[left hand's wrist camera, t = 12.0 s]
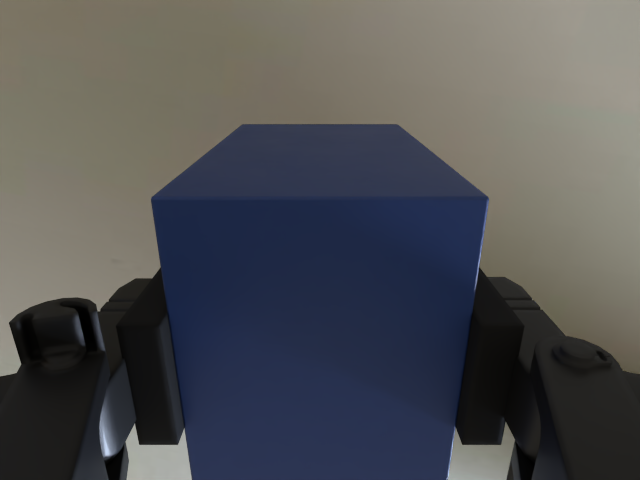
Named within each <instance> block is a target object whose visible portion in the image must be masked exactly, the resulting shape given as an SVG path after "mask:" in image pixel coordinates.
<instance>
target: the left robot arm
mask: <svg viewBox="0 0 640 480" xmlns="http://www.w3.org/2000/svg"><path fill="white" fill-rule="evenodd" d="M9 325H10V328H11V331H12V335H13V338H14V341H15V344H16V348H17V351H18V354H19V358H20V361H21V366H20V368H19V370H18V372H17V373H15V374H11V375H6V376H1V377H0V480H126V478H127V471H128V463H129V459H128V452H127V447H126V443H125V441H126V439H127V437H128V435H129V433H130V431H131V429H132V427H133V426H134V424H135V425H136V430H137V435H138V440H139V445H178V443H179V440H180V438H181V435H182V432H183V430H184V421H183V414H182V407H181V400H180V393H179V387H178V380H177V373H176V366H175V359H174V353H173V346H172V339H171V332H170V325H169V319H168V312H167V305H166V298H165V292H164V285H163V278H162V271H161V268H160V269H159V270H158V272H157V273H156V274H155V276H154V277H153V278H152V279H134V280H132V281H131V282H129V283H127V284H126V285H124V286H122V287H120V288H119V289H118V290H117V291H116V292H115V293H114V294H113V296H112V297H111V298H110V299H109V302H106V303H105V305H104V306H103V307H102V308H101V311H100V312H97V307H96V304H95V303H93V302H92V301H90V300H88V299H83V298H62V299H57V300H52V301H47V302H44V303H41V304H38V305H35V306H33V307H30V308H28V309H26V310H25V311H23V312H21V313H19V314H18V315H16V316H15V317H14V318H13V319H12V320H11V321H10V322H9ZM505 422H506V423H507V425H508V427H509V428H510V430H511V432H512V434H513V436H514V438H515V443H514V447H513V452H512V457H511V461H510V466H509V471H508V475H507V480H640V374H635V373H629V372H625V371H622V369H621V367H620V365H619V363H618V362H617V361H616V360H615V359H614V358H613V356H612V355H611V354H609V353H608V352H606V351H605V350H603V349H602V348H600V347H599V346H597V345H594V344H592V343H590V342H587V341H585V340H582V339H577V338H573V337H569V336H565V335H564V334H563V332H562V331H561V330H560V329H559V328H558V327H557V326H556V325H555V323H554V322H553V321H552V320H551V319H550V318H549V317H548V316H547V315H546V313H545V312H544V311H543V310H540V307H539V306H538V304H537V303H536V302H535V301H534V300H532V298H531V297H530V296H529V294H528V293H527V292H526V291H525V290H524V289H523V288H522V287H521V286H519V285H518V284H516V283H514V282H512V281H511V280H509V279H507V278H505V277H486V275H485V274H484V273H483V271H482V270H481V269H480V267H479V271H478V278H477V285H476V291H475V298H474V305H473V312H472V319H471V325H470V332H469V339H468V346H467V353H466V359H465V366H464V373H463V380H462V387H461V393H460V400H459V407H458V414H457V421H456V429H457V432H458V434H459V437H460V440H461V442H462V445H501V442H502V437H503V432H504V427H505Z"/></svg>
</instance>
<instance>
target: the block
mask: <svg viewBox="0 0 640 480" xmlns="http://www.w3.org/2000/svg"><path fill="white" fill-rule="evenodd" d="M151 203H152V210H153V217H154V224H155V230H156V237H157V244H158V251H159V258H160V264H161V271H162V278H163V285H164V292H165V298H166V305H167V312H168V319H169V325H170V332H171V339H172V346H173V353H174V359H175V366H176V373H177V380H178V387H179V393H180V400H181V407H182V414H183V421H184V428H185V435H186V441H187V448H188V455H189V462H190V469H191V475H192V480H448V475H449V468H450V462H451V455H452V448H453V441H454V434H455V428H456V421H457V414H458V407H459V400H460V393H461V387H462V380H463V373H464V366H465V359H466V353H467V346H468V339H469V332H470V325H471V319H472V312H473V305H474V298H475V291H476V285H477V278H478V271H479V264H480V257H481V251H482V244H483V237H484V230H485V223H486V217H487V210H488V203H489V198H488V197H487V196H486V195H485V194H484V193H482V192H481V191H480V190H479V189H477V188H476V187H475V186H474V185H472V184H471V183H470V182H469V181H467V180H466V179H465V178H464V177H462V176H461V175H460V174H459V173H457V172H456V171H455V170H454V169H453V168H451V167H450V166H449V165H448V164H446V163H445V162H444V161H443V160H441V159H440V158H439V157H438V156H436V155H435V154H434V153H433V152H431V151H430V150H429V149H428V148H426V147H425V146H424V145H423V144H421V143H420V142H419V141H418V140H416V139H415V138H414V137H413V136H411V135H410V134H409V133H408V132H406V131H405V130H404V129H403V128H401V127H400V126H399V125H397V124H243V125H241V126H240V127H239V128H237V129H236V130H235V131H234V132H232V133H231V134H230V135H229V136H227V137H226V138H225V139H224V140H222V141H221V142H220V143H219V144H217V145H216V146H215V147H214V148H212V149H211V150H210V151H209V152H207V153H206V154H205V155H204V156H202V157H201V158H200V159H199V160H197V161H196V162H195V163H194V164H192V165H191V166H190V167H189V168H187V169H186V170H185V171H184V172H182V173H181V174H180V175H179V176H178V177H176V178H175V179H174V180H173V181H171V182H170V183H169V184H168V185H166V186H165V187H164V188H163V189H161V190H160V191H159V192H158V193H156V194H155V195H154V196H153V197H152V198H151Z"/></svg>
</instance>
